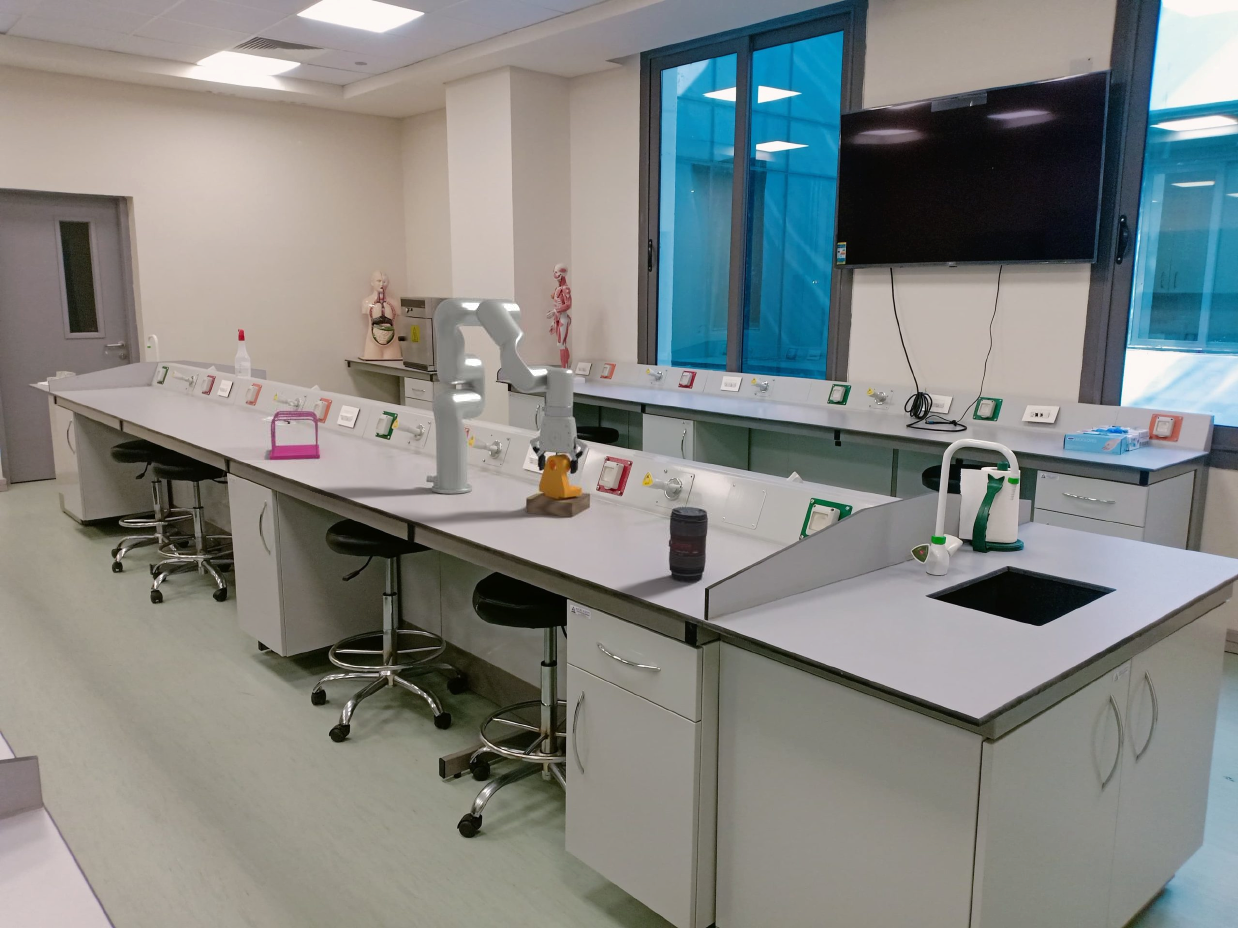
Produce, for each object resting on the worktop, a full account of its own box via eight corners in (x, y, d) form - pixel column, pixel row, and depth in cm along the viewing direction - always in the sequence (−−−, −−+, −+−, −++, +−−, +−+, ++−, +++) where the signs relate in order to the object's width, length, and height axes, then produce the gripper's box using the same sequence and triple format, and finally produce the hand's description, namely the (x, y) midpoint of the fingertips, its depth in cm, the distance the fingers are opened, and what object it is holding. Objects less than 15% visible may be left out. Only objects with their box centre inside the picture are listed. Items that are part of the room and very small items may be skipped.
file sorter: (319, 448, 360) (317, 409, 357) (319, 459, 336) (318, 417, 334) (272, 450, 354) (270, 410, 351) (270, 460, 331) (268, 417, 328)
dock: (526, 512, 255) (526, 497, 254) (545, 502, 268) (545, 489, 268) (572, 517, 251) (572, 502, 250) (589, 507, 264) (590, 493, 263)
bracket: (583, 497, 258) (584, 456, 256) (564, 500, 253) (565, 458, 251) (557, 490, 265) (558, 450, 263) (538, 494, 260) (539, 453, 258)
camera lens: (675, 584, 191) (678, 515, 189) (663, 573, 199) (665, 507, 196) (711, 582, 193) (713, 513, 191) (697, 571, 201) (699, 505, 198)
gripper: (525, 411, 254) (524, 470, 257) (583, 415, 249) (581, 476, 252) (536, 408, 261) (535, 466, 264) (592, 413, 256) (590, 472, 259)
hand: (557, 471), depth 258 cm, fingers open, 9 cm apart
